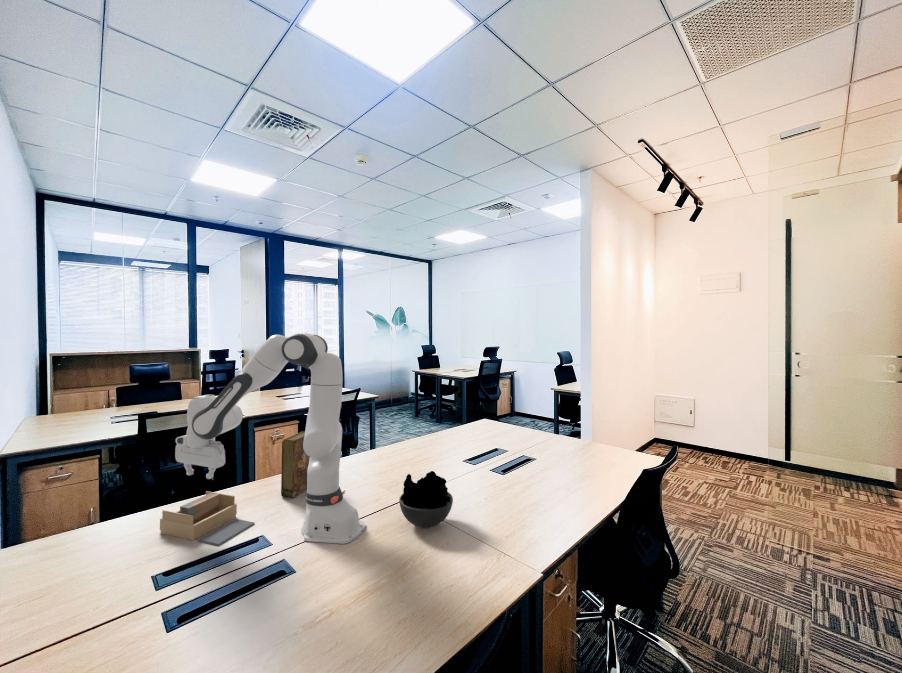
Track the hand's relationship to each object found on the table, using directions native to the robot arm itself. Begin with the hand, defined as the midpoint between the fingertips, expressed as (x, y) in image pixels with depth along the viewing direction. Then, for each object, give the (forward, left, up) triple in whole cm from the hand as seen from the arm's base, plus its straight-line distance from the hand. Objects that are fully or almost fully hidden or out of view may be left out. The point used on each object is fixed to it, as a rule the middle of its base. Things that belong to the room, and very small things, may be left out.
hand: (199, 476), depth 136 cm
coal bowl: (-79, -26, -18) cm, 85 cm away
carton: (0, 0, -18) cm, 18 cm away
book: (-14, -36, -18) cm, 43 cm away
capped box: (0, 0, -18) cm, 18 cm away
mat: (-14, +1, -18) cm, 23 cm away
